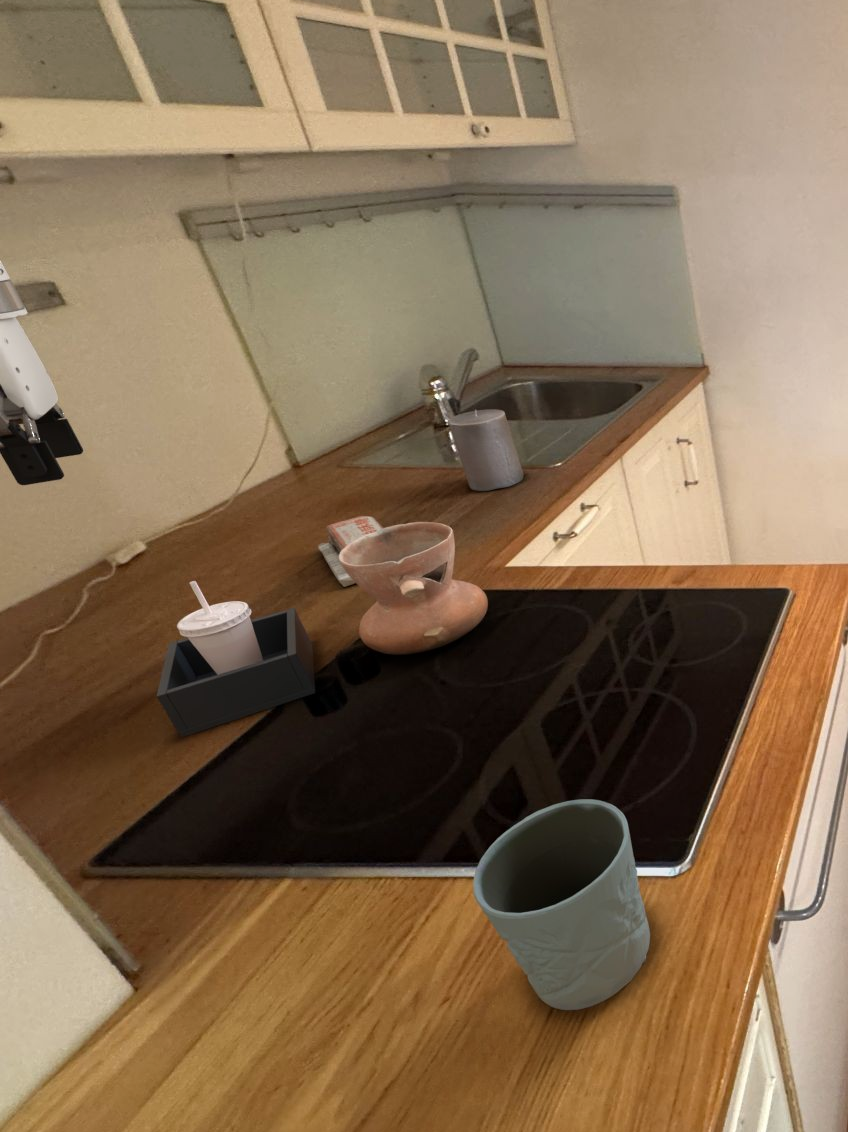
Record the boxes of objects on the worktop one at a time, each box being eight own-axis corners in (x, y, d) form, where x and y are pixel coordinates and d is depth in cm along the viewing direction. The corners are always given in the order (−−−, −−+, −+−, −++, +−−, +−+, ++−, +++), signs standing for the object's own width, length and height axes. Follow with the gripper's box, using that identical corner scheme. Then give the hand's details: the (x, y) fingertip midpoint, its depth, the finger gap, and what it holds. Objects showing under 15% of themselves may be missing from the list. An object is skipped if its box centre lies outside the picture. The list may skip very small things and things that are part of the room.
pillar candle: (496, 471, 159) (474, 401, 152) (535, 475, 156) (514, 403, 150) (457, 489, 150) (432, 416, 144) (498, 493, 148) (474, 419, 141)
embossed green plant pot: (670, 895, 65) (640, 790, 60) (646, 1012, 56) (608, 901, 51) (545, 914, 64) (504, 808, 59) (499, 1037, 55) (445, 925, 50)
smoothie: (260, 662, 97) (210, 565, 91) (294, 671, 95) (245, 573, 89) (201, 692, 92) (143, 592, 86) (236, 703, 90) (179, 601, 84)
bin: (181, 737, 86) (156, 696, 83) (191, 681, 95) (168, 642, 93) (315, 693, 92) (296, 653, 90) (312, 644, 102) (294, 607, 100)
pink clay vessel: (504, 642, 101) (471, 547, 95) (372, 686, 93) (326, 585, 87) (482, 589, 114) (451, 502, 108) (364, 624, 106) (324, 532, 100)
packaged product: (308, 527, 125) (380, 507, 131) (320, 553, 127) (390, 533, 133) (330, 561, 113) (408, 538, 120) (343, 589, 115) (418, 565, 122)
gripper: (-66, 297, 78) (23, 454, 86) (-134, 320, 66) (-24, 502, 73) (40, 290, 83) (116, 441, 90) (-5, 310, 70) (87, 483, 78)
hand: (53, 468), depth 82 cm, fingers open, 9 cm apart
